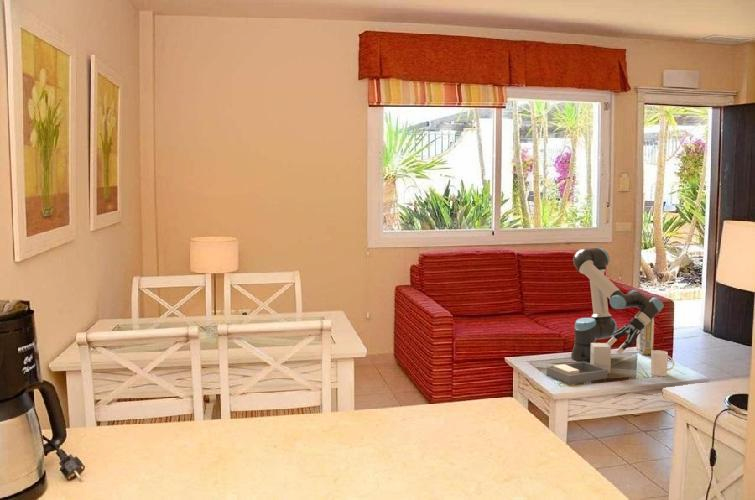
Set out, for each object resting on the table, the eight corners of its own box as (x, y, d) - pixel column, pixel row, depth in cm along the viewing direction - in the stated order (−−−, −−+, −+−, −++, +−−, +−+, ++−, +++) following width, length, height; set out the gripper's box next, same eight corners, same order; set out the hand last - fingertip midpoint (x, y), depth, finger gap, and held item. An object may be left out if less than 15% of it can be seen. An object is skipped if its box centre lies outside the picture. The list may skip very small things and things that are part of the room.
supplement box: (606, 369, 349) (607, 342, 348) (610, 373, 340) (611, 346, 339) (589, 368, 350) (590, 342, 348) (593, 373, 341) (594, 346, 340)
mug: (676, 375, 337) (677, 353, 336) (669, 378, 331) (670, 356, 330) (654, 370, 346) (655, 349, 345) (647, 373, 340) (648, 352, 339)
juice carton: (654, 355, 377) (655, 315, 374) (641, 355, 377) (642, 315, 375) (647, 351, 386) (649, 312, 384) (634, 351, 386) (636, 312, 384)
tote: (546, 375, 337) (546, 366, 337) (583, 370, 347) (583, 361, 346) (568, 385, 321) (569, 375, 320) (607, 379, 330) (607, 370, 330)
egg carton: (553, 375, 335) (553, 365, 335) (563, 374, 338) (564, 364, 337) (568, 382, 324) (568, 371, 324) (579, 380, 327) (579, 370, 326)
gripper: (655, 331, 330) (627, 360, 331) (633, 321, 355) (607, 348, 355) (646, 321, 329) (617, 350, 330) (624, 312, 354) (598, 339, 355)
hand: (612, 349), depth 343 cm, fingers open, 13 cm apart
